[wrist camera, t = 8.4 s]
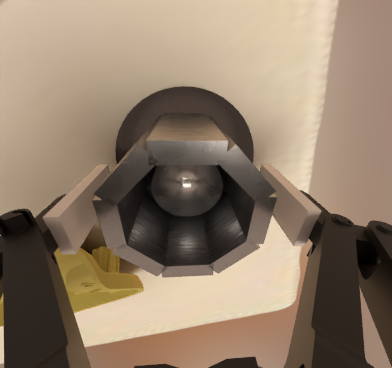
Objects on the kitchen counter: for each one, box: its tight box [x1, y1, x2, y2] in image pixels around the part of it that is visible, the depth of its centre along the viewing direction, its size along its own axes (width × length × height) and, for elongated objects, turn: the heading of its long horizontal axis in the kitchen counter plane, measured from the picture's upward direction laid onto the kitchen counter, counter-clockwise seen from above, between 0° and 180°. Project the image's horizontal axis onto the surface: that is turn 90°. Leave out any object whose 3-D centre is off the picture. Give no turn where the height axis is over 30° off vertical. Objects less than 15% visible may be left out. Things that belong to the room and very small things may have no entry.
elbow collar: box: [92, 113, 277, 277], centre depth 14 cm, size 10×10×9 cm
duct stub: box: [116, 87, 254, 216], centre depth 16 cm, size 14×14×6 cm
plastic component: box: [0, 246, 144, 326], centre depth 24 cm, size 20×7×10 cm
